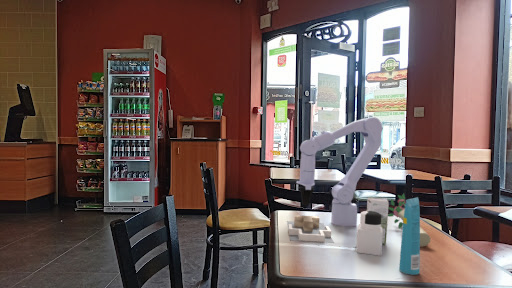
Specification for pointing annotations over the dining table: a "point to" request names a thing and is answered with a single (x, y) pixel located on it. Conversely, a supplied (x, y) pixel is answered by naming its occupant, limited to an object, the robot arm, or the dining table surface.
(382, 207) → the syrup box
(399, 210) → the flower vase
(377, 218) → the medicine bottle
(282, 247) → the dining table surface
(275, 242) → the dining table surface
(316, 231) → the board
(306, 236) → the dock
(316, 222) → the t block
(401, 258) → the tube
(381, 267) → the dining table surface
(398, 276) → the dining table surface
